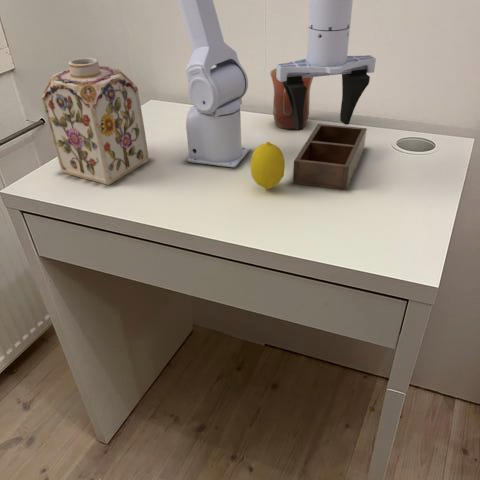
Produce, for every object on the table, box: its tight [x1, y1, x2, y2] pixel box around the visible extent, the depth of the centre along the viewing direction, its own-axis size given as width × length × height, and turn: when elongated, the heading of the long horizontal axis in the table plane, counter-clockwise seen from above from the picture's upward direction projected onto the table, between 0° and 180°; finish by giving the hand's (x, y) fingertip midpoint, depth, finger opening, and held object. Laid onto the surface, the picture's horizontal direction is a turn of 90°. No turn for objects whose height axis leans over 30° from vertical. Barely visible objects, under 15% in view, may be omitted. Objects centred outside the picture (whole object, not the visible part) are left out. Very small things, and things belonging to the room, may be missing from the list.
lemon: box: [250, 141, 286, 190], centre depth 81 cm, size 6×6×8 cm
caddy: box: [292, 123, 368, 191], centre depth 89 cm, size 9×17×4 cm, turn 160°
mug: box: [269, 67, 314, 130], centre depth 101 cm, size 12×9×10 cm
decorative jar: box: [41, 57, 150, 186], centre depth 86 cm, size 12×12×18 cm
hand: (321, 125), depth 79 cm, fingers open, 7 cm apart
